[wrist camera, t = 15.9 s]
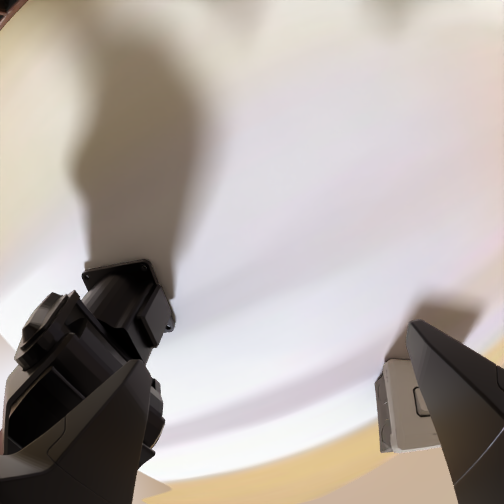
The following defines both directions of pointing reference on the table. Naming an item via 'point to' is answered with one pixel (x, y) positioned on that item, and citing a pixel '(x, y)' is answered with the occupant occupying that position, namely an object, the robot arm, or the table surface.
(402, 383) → the electrical switch
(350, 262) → the table surface
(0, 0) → the letter holder
